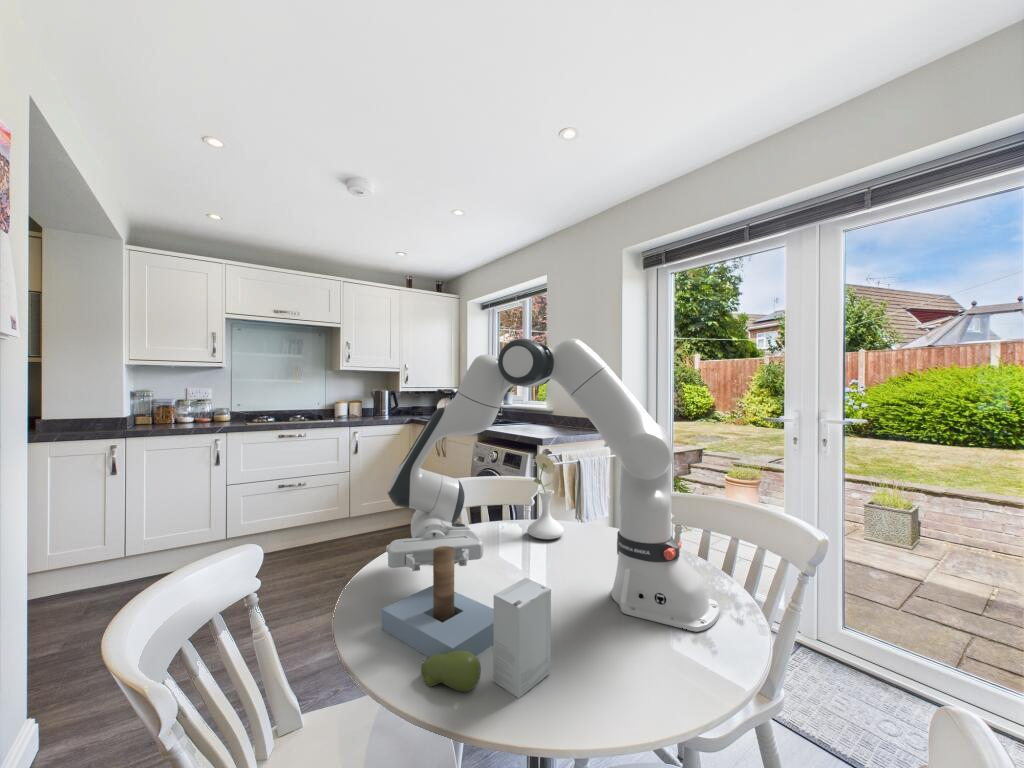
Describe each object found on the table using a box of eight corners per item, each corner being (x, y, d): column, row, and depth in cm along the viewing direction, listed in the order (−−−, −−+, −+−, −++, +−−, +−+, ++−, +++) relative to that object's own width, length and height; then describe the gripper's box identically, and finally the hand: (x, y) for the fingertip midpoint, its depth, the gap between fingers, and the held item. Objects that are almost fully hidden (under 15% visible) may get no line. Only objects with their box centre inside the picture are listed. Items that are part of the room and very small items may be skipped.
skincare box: (525, 659, 80) (526, 575, 80) (552, 675, 76) (553, 586, 76) (490, 683, 74) (491, 592, 74) (518, 701, 70) (519, 605, 70)
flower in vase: (571, 540, 138) (571, 457, 137) (536, 545, 134) (537, 459, 133) (551, 526, 150) (552, 450, 150) (519, 530, 146) (519, 452, 145)
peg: (458, 631, 89) (458, 549, 89) (442, 640, 86) (443, 555, 85) (444, 624, 91) (444, 544, 91) (428, 632, 88) (428, 550, 88)
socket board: (506, 635, 88) (506, 614, 88) (452, 671, 77) (452, 648, 77) (436, 601, 100) (436, 583, 100) (381, 629, 90) (381, 608, 89)
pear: (468, 665, 70) (412, 662, 73) (474, 701, 70) (417, 695, 73) (483, 645, 75) (430, 642, 78) (488, 677, 75) (435, 674, 78)
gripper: (385, 530, 103) (386, 554, 90) (475, 523, 109) (488, 544, 95) (385, 558, 103) (386, 586, 90) (475, 550, 109) (488, 574, 96)
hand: (440, 564), depth 93 cm, fingers open, 8 cm apart
